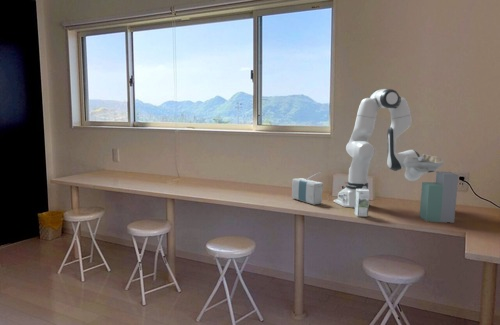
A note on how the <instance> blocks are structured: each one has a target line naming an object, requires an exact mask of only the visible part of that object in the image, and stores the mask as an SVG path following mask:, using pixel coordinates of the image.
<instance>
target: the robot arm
mask: <svg viewBox="0 0 500 325" xmlns="http://www.w3.org/2000/svg"><path fill="white" fill-rule="evenodd" d="M380 109H388V111H389V113H390V120H391V121H390V122H391V124H390V125H389V126H390V127H389V128H388V129H387V138H386V140H387V142H386V144H387V156H386V165H387V168H389V169H390V170H391V171H394V172H397V171H399V170H402V169H405V172H404V177H405V179H406V180H407V181H411V182H414V181H417V180H419V179H420V178H421V177H422V176H423V175H424V174H428V173H434V172H435V173H436V171H437V170H438V169H440V168H441V167H442V166H443V164H444V159H443V157H440V158H441V163H434V162H431V161H428V160H425V158H426V157H425V155H423V154H422V155H421V156H420V154H419V153H418V152H417V151H416V150H415V149H412V148H411V149H408V150H404V151H401V152H397V139H398V138H399V137H400V136H401V135H402V134H403V133H405V132H406V131H407V130H408V129H409V128H410V127H411V126H412V121H413V119H412V115H411V114H412V113H411V109H410V106H409V103H408V101H407V99H406V98H405V97H403V96H400V95H399V93H398V92H397V91H396V90H394V89H393V88H392V89H391V88H387V89H386V88H381V89H376V90H374V91H373V92H372V93H371V94H369V96H368V97H366V98H363V99H362V100H361V101H360V104H359V107H358V109H357V114H356V118H355V123H354V127H353V130H352V133H351V136H350V138H349V141H348V142H347V144H346V146H345V150H346V153H347V154H348V155H349V157H351V158H352V159H351V160H352V161H351V162H350V167H349V168H348V181H345V183H344V184H345V188H343V189H341V190H340V191H339V192H338V193H337V198H335V199H333V202H334V203H336V204H338V205H340V206H342V207H344V208H354V209H355V198H356V189H368V190H369V182H368V180H369V169H370V164H371V161H372V158H374V155H375V152H376V150H375V147H374V146H373V145H372V144H371V143H370V142H369V140H370V138H371V137H372V134H373V133H374V131H375V125H376V120H377V116H378V112H379V110H380ZM431 155H432V154H431ZM432 156H434V155H432Z"/></svg>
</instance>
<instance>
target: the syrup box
mask: <svg viewBox="0 0 500 325" xmlns="http://www.w3.org/2000/svg"><path fill="white" fill-rule="evenodd" d="M369 207H370V190H369V188H368V189H356V198H355V208H354V213H353V214H354V215H355V216H356V217H357V218H359V217H360V218H368V217H369Z"/></svg>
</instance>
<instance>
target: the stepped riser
mask: <svg viewBox="0 0 500 325" xmlns="http://www.w3.org/2000/svg"><path fill="white" fill-rule="evenodd" d="M435 173H436V174H435V182H431V181H422V182H421V190H420V191H421V192H420V194H421V195H420V204H419V205H420V206H419V218H421V219H422V220H423V221H424V222H426V221H430V222H429V223H447V222H450V223H451V224H452V223H453V224H454V223H455V216H456V207H457V206H456V205H457V192H458V183H459V174H457V173H455V172H451V171H441V170H440V171H439V170H438V171H437V170H436V171H435Z"/></svg>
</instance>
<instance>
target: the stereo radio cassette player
mask: <svg viewBox="0 0 500 325" xmlns="http://www.w3.org/2000/svg"><path fill="white" fill-rule="evenodd" d="M320 173H321V171H319V172H317V173H315V174H313V175H311V176H309V177H307V178H304V177H300V178H297V177H296V178H292V183H291V197H292V198H293V199H294V200H297V201H301V202H303V203H307V204H311V205H313V206H315V205H321V203H322V202H323V199H322V198H323V187H324V183H323V182H321V181H318V180H317V181H316V180H311V178H312V177H314V176H317V175H319V174H320Z"/></svg>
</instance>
